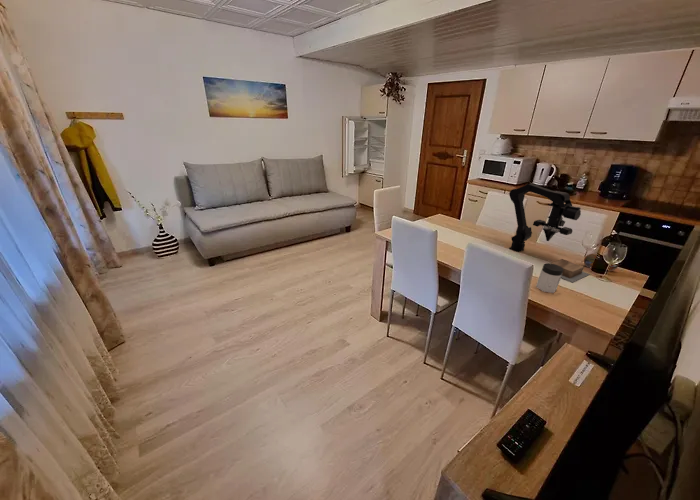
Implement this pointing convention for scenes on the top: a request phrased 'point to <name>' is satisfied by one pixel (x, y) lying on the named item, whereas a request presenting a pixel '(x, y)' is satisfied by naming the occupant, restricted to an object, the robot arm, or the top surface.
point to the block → (569, 268)
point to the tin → (590, 259)
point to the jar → (549, 277)
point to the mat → (575, 277)
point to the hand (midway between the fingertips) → (547, 240)
